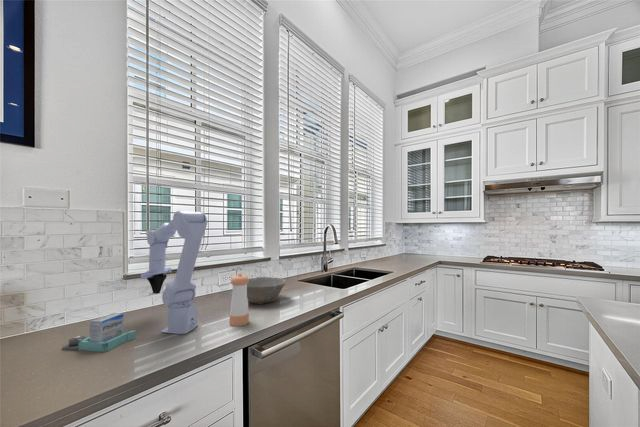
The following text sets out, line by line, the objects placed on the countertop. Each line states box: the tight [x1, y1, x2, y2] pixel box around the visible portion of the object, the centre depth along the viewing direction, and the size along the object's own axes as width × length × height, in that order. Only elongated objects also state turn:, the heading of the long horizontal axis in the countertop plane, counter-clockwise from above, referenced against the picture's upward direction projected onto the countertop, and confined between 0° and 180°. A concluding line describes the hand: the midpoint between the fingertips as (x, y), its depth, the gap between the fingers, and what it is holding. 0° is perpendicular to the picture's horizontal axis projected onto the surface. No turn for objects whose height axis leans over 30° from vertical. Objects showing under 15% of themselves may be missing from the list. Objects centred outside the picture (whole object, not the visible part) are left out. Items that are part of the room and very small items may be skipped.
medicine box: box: [88, 312, 124, 342], centre depth 87 cm, size 8×4×9 cm, turn 170°
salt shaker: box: [229, 273, 250, 327], centre depth 107 cm, size 7×7×19 cm
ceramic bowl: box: [247, 276, 287, 305], centre depth 135 cm, size 22×23×10 cm
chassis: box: [62, 329, 137, 353], centre depth 88 cm, size 16×11×3 cm
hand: (156, 293), depth 110 cm, fingers closed
